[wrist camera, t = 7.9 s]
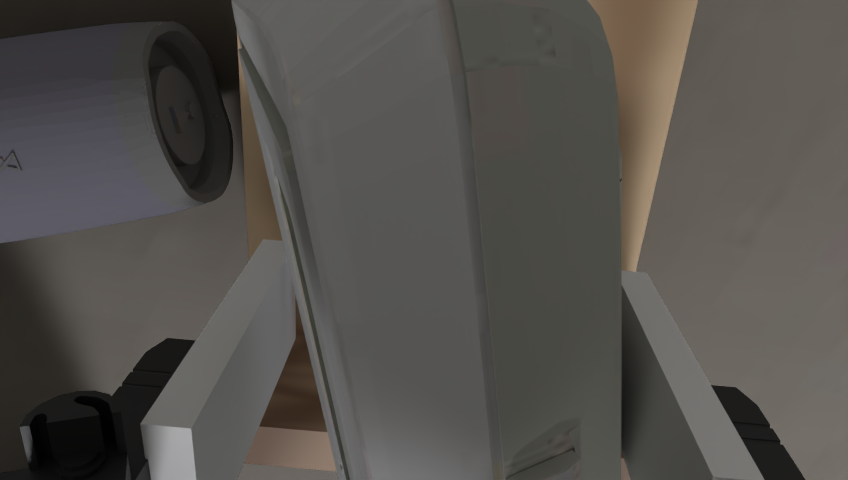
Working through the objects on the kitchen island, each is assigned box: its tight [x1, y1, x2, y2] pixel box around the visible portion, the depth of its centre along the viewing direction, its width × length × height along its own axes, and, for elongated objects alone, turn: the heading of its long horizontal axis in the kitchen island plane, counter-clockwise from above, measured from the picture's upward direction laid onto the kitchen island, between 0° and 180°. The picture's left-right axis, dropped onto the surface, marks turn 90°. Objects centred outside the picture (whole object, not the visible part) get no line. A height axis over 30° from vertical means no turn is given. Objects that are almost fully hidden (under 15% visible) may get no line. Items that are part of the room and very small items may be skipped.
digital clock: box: [232, 0, 622, 480], centre depth 12 cm, size 16×9×11 cm, turn 176°
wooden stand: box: [237, 0, 698, 480], centre depth 28 cm, size 20×21×14 cm
